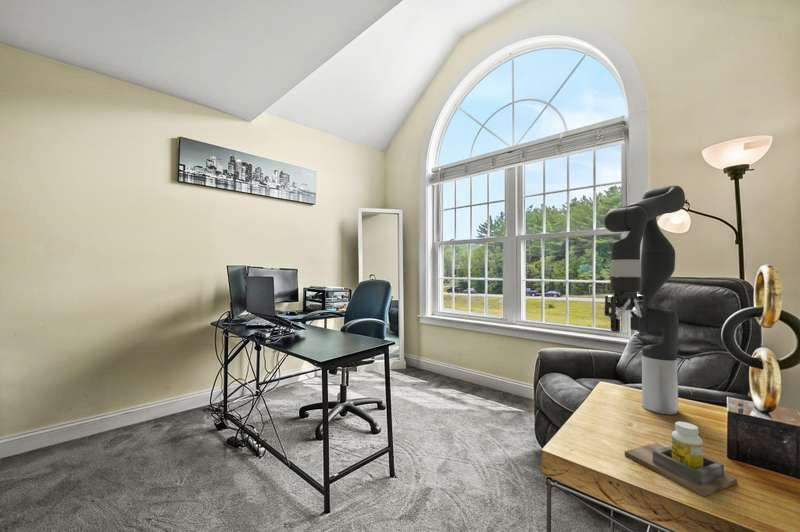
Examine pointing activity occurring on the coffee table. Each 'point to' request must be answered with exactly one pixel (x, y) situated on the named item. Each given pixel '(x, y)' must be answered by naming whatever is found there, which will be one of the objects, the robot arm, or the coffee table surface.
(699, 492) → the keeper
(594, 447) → the coffee table surface
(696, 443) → the supplement bottle
